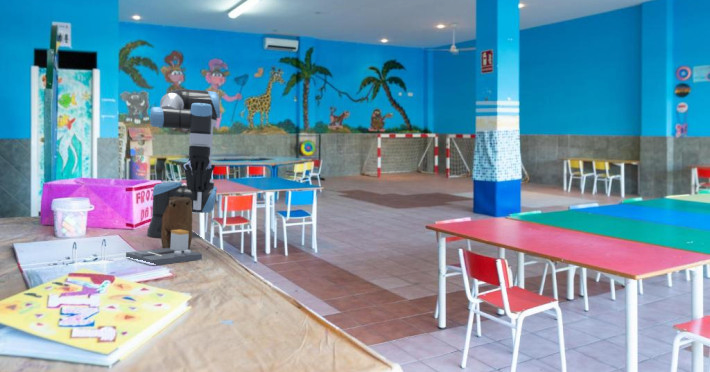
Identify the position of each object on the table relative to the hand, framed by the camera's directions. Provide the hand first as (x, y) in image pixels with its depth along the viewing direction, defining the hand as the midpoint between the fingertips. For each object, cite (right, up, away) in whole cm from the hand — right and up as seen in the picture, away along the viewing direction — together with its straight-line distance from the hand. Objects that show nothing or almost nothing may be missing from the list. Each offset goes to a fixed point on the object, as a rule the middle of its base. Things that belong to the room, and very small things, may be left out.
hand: (197, 209), depth 217 cm
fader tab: (-5, -14, -4) cm, 16 cm away
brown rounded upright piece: (-12, -16, +12) cm, 23 cm away
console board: (-9, -17, -9) cm, 21 cm away
